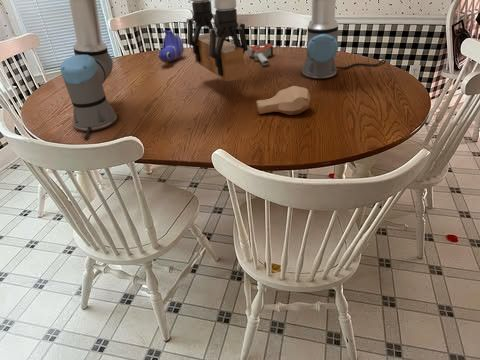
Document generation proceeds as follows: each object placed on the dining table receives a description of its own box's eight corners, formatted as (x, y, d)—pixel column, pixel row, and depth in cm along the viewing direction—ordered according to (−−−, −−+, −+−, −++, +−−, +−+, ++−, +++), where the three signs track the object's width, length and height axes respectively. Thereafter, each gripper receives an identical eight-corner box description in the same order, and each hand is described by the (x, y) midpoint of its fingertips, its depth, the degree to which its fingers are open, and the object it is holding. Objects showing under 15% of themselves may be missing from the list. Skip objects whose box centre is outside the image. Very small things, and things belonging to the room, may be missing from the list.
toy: (171, 62, 199) (152, 68, 177) (167, 30, 192) (146, 32, 170) (188, 61, 197) (171, 67, 175) (184, 29, 190) (166, 30, 168)
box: (244, 77, 138) (243, 48, 131) (226, 81, 135) (224, 52, 128) (211, 58, 159) (209, 32, 153) (195, 61, 156) (192, 36, 150)
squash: (314, 116, 128) (313, 95, 122) (259, 125, 130) (256, 105, 124) (308, 99, 136) (307, 78, 129) (257, 108, 138) (253, 88, 131)
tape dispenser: (265, 70, 173) (284, 55, 186) (265, 59, 170) (284, 45, 183) (235, 63, 181) (255, 50, 193) (235, 53, 177) (255, 40, 190)
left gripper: (245, 3, 132) (248, 64, 145) (194, 11, 124) (202, 75, 137) (256, 6, 126) (257, 69, 140) (203, 15, 118) (210, 81, 132)
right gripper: (220, -4, 147) (224, 52, 160) (173, 3, 139) (182, 61, 152) (228, -2, 141) (232, 56, 155) (180, 6, 134) (188, 66, 147)
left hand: (230, 72), depth 138 cm, fingers closed on box, 8 cm apart
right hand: (207, 59), depth 154 cm, fingers closed on box, 8 cm apart
